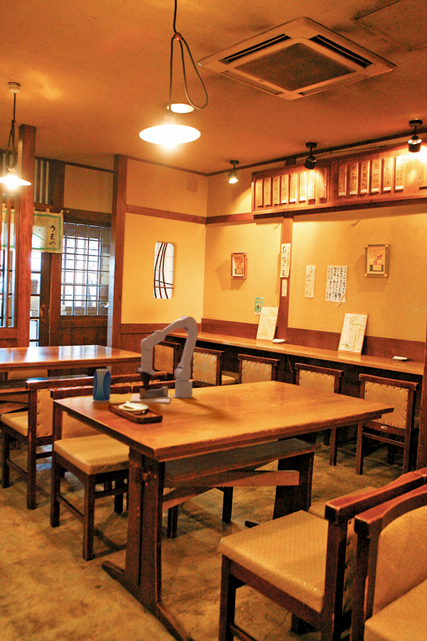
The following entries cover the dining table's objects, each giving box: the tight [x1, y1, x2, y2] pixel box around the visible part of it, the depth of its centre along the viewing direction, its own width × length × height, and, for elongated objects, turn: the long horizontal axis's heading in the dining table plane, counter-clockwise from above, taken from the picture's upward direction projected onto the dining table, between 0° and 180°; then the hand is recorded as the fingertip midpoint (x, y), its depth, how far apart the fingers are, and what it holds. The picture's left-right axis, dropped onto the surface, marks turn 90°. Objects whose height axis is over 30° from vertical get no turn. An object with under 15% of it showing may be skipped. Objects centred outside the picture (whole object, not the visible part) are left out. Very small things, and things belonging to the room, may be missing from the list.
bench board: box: [129, 393, 171, 405], centre depth 263 cm, size 20×18×1 cm
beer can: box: [92, 368, 112, 404], centre depth 252 cm, size 8×8×16 cm
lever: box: [139, 385, 169, 399], centre depth 264 cm, size 17×4×5 cm, turn 130°
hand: (145, 386), depth 266 cm, fingers closed
